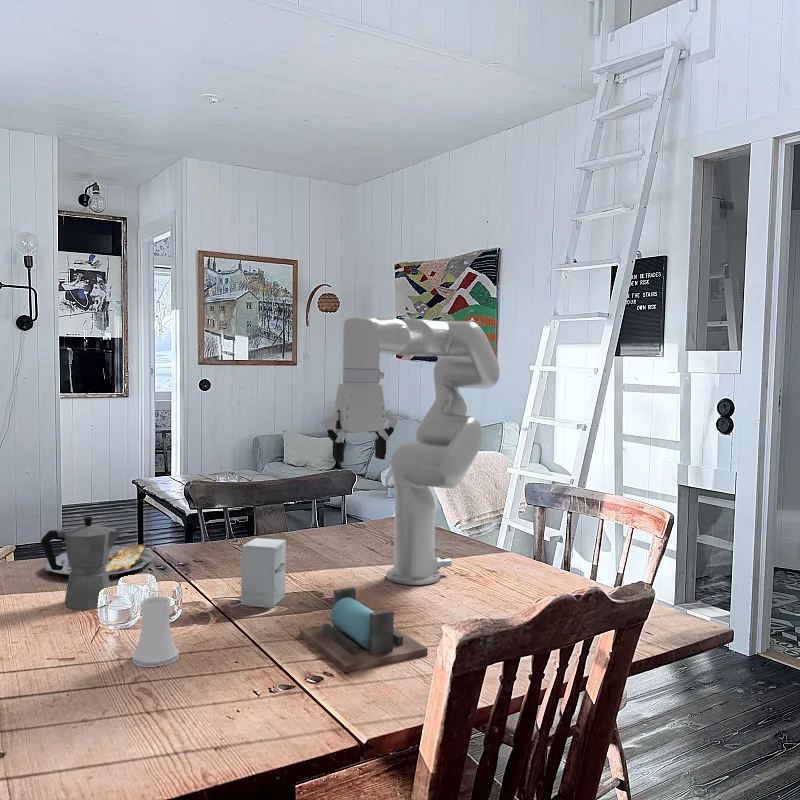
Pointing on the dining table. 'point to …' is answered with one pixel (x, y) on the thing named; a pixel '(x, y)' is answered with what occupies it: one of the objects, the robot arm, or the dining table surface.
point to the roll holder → (350, 654)
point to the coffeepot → (83, 561)
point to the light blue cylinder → (352, 620)
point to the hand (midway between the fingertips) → (359, 460)
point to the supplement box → (263, 572)
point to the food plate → (114, 560)
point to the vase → (155, 635)
